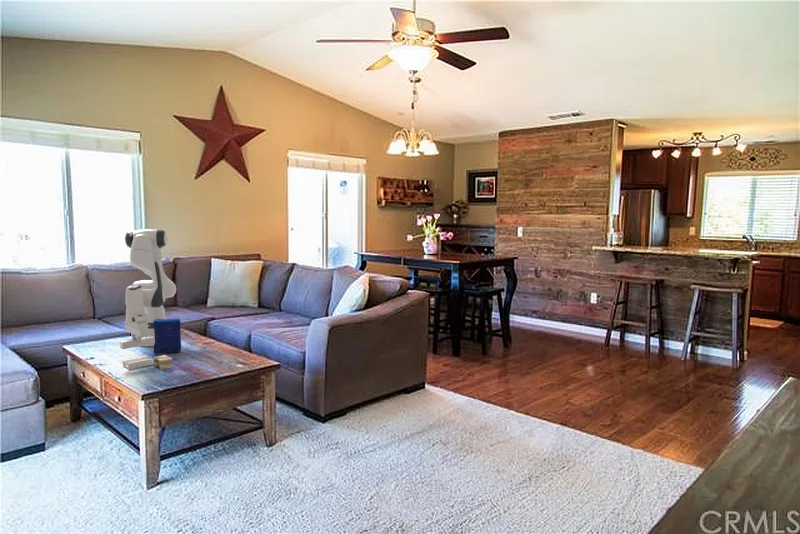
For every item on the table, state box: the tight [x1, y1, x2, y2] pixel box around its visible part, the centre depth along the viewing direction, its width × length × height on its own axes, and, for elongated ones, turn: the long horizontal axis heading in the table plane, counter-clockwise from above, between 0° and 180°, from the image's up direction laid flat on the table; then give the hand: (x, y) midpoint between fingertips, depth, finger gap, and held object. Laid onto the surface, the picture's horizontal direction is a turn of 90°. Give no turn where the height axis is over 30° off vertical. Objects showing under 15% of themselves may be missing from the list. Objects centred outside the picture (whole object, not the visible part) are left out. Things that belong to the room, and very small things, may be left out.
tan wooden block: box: [152, 354, 173, 371], centre depth 273 cm, size 9×6×5 cm
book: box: [153, 317, 182, 355], centre depth 298 cm, size 14×5×20 cm, turn 105°
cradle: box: [122, 355, 154, 370], centre depth 276 cm, size 8×12×3 cm, turn 138°
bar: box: [119, 336, 155, 350], centre depth 275 cm, size 4×16×4 cm, turn 137°
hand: (136, 342), depth 274 cm, fingers closed on bar, 3 cm apart
